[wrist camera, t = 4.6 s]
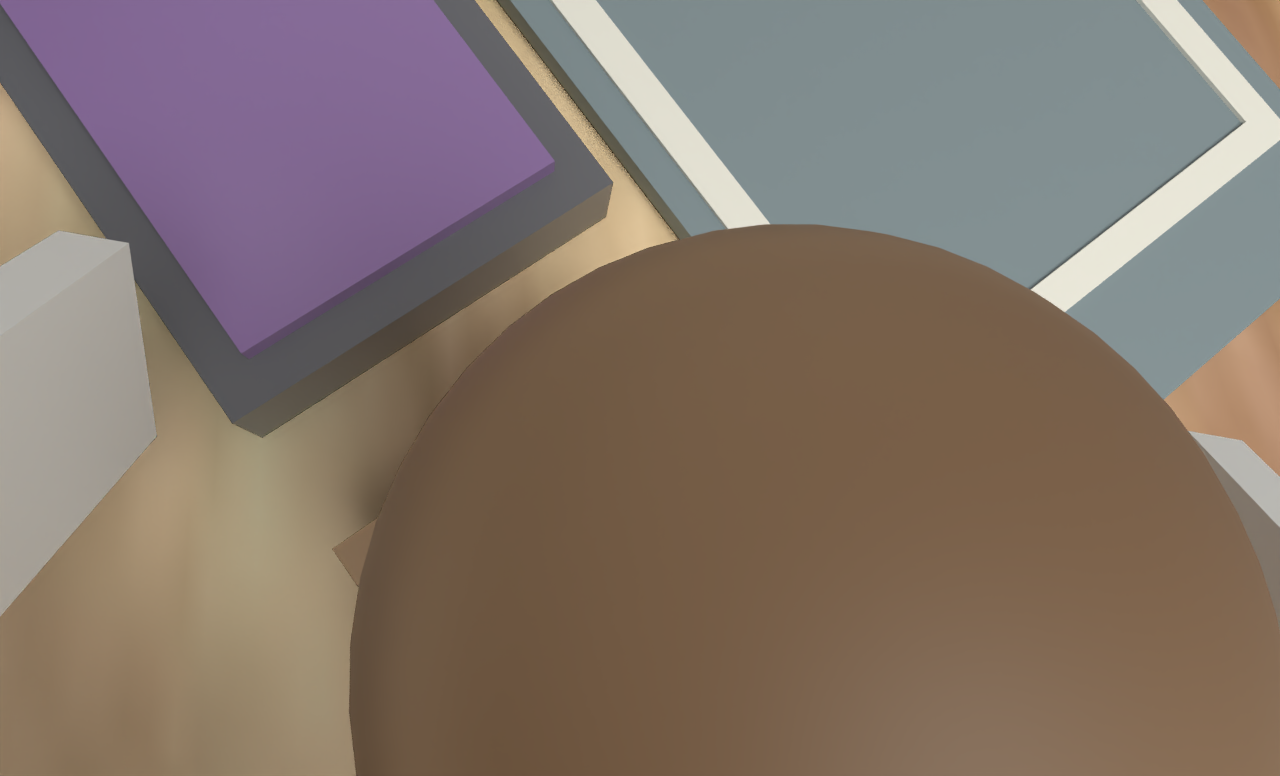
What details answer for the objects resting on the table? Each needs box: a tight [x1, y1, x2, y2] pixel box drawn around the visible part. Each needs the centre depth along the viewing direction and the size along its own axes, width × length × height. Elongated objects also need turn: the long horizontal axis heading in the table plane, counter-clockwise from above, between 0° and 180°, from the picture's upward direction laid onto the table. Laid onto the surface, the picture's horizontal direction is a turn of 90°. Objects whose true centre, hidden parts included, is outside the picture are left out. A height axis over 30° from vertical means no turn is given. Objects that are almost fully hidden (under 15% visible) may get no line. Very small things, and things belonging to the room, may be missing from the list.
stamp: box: [332, 224, 1280, 776], centre depth 9 cm, size 6×6×14 cm
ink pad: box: [0, 0, 613, 438], centre depth 16 cm, size 12×8×2 cm, turn 37°
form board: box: [497, 0, 1280, 400], centre depth 19 cm, size 18×14×1 cm
